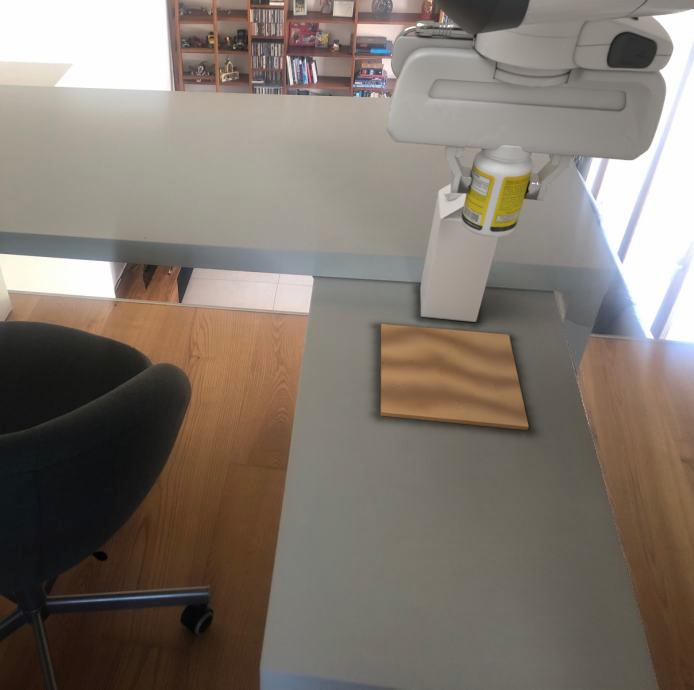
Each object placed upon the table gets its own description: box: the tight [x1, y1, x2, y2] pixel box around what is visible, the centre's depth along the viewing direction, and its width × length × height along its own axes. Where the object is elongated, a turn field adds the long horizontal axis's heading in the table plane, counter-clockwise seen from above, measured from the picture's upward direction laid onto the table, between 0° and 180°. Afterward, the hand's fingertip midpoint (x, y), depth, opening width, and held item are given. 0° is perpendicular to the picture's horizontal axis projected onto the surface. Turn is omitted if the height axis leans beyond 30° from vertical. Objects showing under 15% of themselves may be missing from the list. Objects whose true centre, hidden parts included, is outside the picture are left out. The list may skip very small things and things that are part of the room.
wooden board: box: [380, 323, 530, 431], centre depth 83 cm, size 16×16×1 cm
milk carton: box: [419, 183, 499, 323], centre depth 88 cm, size 7×7×19 cm
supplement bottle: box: [461, 145, 534, 238], centre depth 60 cm, size 5×5×8 cm
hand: (495, 193), depth 60 cm, fingers closed on supplement bottle, 5 cm apart
